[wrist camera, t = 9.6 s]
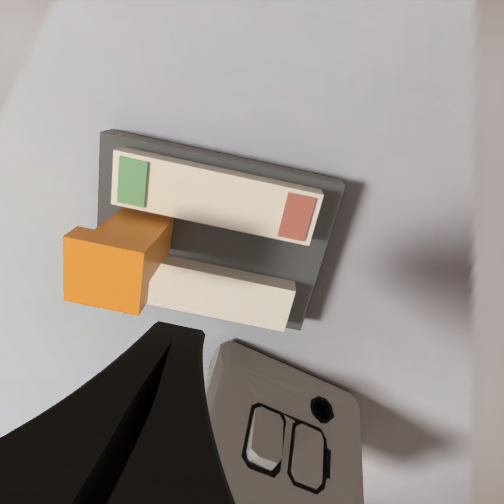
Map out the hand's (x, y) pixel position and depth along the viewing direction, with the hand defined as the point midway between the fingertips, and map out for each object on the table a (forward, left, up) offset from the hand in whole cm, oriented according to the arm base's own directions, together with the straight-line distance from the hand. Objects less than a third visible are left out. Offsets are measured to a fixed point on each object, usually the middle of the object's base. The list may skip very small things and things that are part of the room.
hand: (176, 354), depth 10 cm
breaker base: (0, 0, -9) cm, 9 cm away
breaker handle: (0, +3, -8) cm, 9 cm away
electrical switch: (-10, -5, -10) cm, 15 cm away
